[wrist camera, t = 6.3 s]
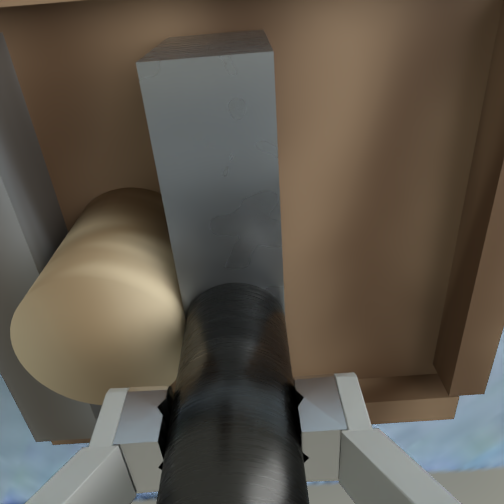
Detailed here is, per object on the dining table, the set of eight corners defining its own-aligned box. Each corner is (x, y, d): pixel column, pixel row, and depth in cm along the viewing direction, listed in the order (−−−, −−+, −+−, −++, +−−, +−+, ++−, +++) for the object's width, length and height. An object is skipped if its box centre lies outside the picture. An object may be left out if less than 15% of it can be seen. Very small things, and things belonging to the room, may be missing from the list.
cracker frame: (565, -105, 13) (677, -134, 10) (453, 378, 24) (488, 444, 21) (-154, -42, 14) (-284, -48, 10) (51, 405, 25) (20, 474, 21)
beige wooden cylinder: (191, 182, 17) (170, 271, 12) (207, 289, 19) (196, 400, 14) (60, 192, 17) (-18, 284, 12) (94, 297, 20) (42, 410, 14)
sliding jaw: (263, 29, 14) (326, 167, 4) (281, 371, 22) (318, 721, 11) (167, 37, 14) (-35, 195, 4) (220, 375, 22) (202, 727, 12)
